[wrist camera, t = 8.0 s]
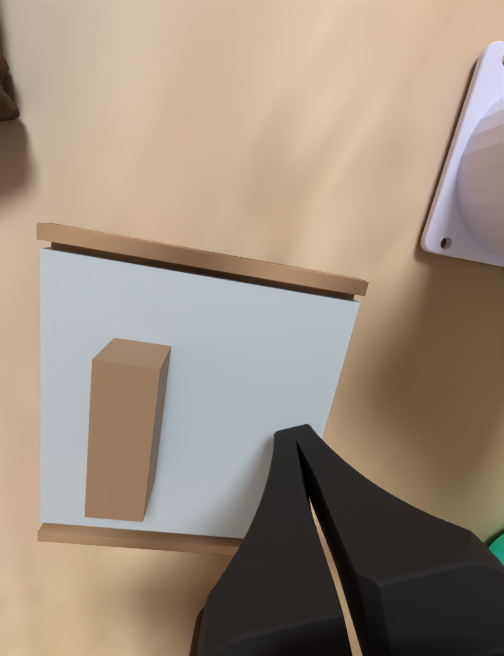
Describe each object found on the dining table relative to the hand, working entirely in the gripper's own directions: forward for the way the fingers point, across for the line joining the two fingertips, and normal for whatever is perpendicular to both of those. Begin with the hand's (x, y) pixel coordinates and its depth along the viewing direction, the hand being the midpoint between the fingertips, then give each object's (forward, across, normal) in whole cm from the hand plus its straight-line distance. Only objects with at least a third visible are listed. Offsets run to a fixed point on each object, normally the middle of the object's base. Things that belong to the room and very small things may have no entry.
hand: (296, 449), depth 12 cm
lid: (+2, +4, -2) cm, 4 cm away
